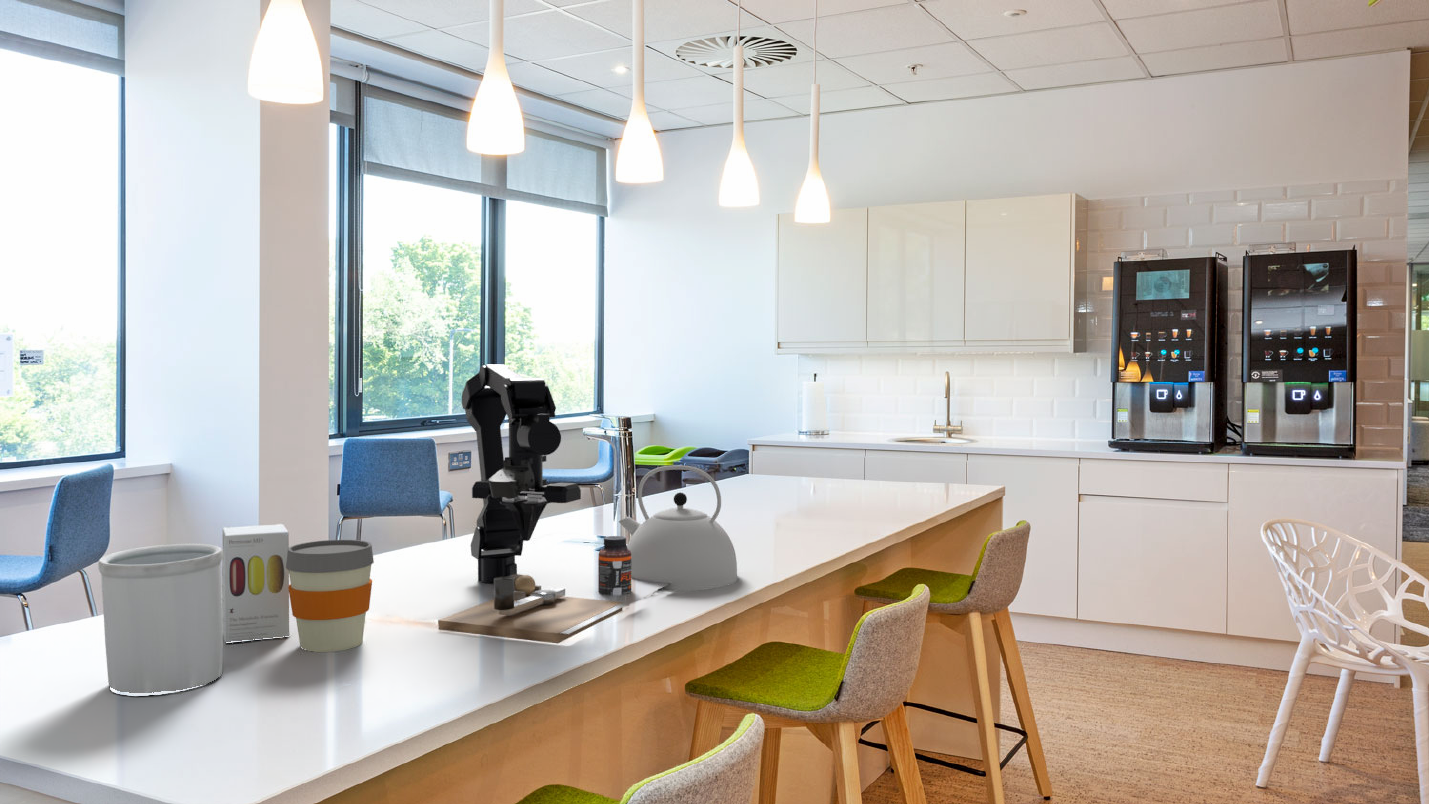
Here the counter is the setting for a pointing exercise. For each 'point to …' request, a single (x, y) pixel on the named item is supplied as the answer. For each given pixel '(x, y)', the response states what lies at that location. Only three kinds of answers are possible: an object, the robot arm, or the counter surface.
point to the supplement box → (255, 582)
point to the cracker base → (529, 618)
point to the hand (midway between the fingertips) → (526, 540)
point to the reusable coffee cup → (330, 592)
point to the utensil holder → (162, 617)
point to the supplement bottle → (614, 567)
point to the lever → (509, 607)
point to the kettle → (681, 544)
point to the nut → (525, 584)
